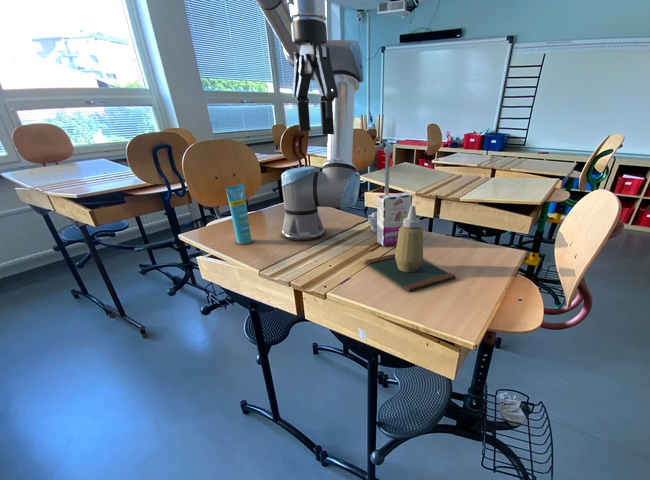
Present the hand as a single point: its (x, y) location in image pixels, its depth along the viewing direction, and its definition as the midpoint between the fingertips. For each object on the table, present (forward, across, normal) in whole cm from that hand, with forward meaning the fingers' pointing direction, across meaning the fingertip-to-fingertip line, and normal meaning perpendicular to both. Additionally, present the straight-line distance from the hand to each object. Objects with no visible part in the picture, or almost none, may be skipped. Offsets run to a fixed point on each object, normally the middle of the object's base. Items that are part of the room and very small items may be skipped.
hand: (315, 132), depth 82 cm
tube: (+36, -33, -15) cm, 51 cm away
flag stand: (+36, -20, +36) cm, 55 cm away
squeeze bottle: (+35, +15, +20) cm, 43 cm away
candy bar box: (+36, -6, +30) cm, 47 cm away
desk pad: (+36, +15, +20) cm, 43 cm away
